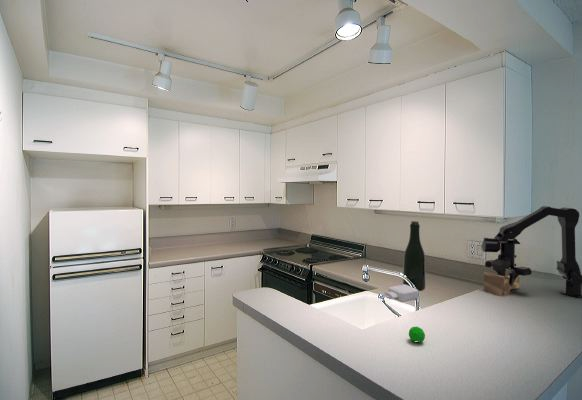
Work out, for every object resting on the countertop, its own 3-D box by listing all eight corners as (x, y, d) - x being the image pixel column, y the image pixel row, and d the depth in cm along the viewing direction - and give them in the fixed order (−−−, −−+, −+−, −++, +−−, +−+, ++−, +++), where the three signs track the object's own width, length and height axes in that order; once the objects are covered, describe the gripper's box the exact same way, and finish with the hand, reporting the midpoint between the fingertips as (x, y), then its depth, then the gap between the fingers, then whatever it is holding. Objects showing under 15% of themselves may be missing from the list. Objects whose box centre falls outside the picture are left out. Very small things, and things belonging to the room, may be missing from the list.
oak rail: (511, 285, 161) (511, 275, 160) (519, 287, 157) (519, 277, 157) (492, 289, 155) (492, 279, 155) (499, 291, 152) (500, 281, 151)
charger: (377, 298, 148) (403, 293, 154) (391, 305, 139) (418, 299, 145) (377, 288, 148) (403, 283, 154) (391, 294, 139) (418, 289, 145)
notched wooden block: (491, 288, 159) (491, 270, 158) (510, 294, 151) (510, 275, 150) (482, 290, 156) (483, 272, 156) (501, 296, 148) (501, 277, 148)
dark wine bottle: (415, 283, 167) (416, 219, 165) (430, 290, 157) (431, 222, 155) (398, 286, 164) (399, 220, 162) (412, 292, 154) (412, 223, 152)
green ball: (405, 339, 109) (405, 325, 109) (416, 336, 111) (416, 323, 110) (416, 346, 104) (416, 332, 104) (428, 343, 106) (428, 329, 106)
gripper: (477, 250, 161) (477, 282, 162) (517, 258, 144) (516, 293, 144) (492, 248, 165) (492, 279, 166) (532, 256, 148) (531, 290, 149)
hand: (506, 285), depth 156 cm, fingers closed on oak rail, 3 cm apart
